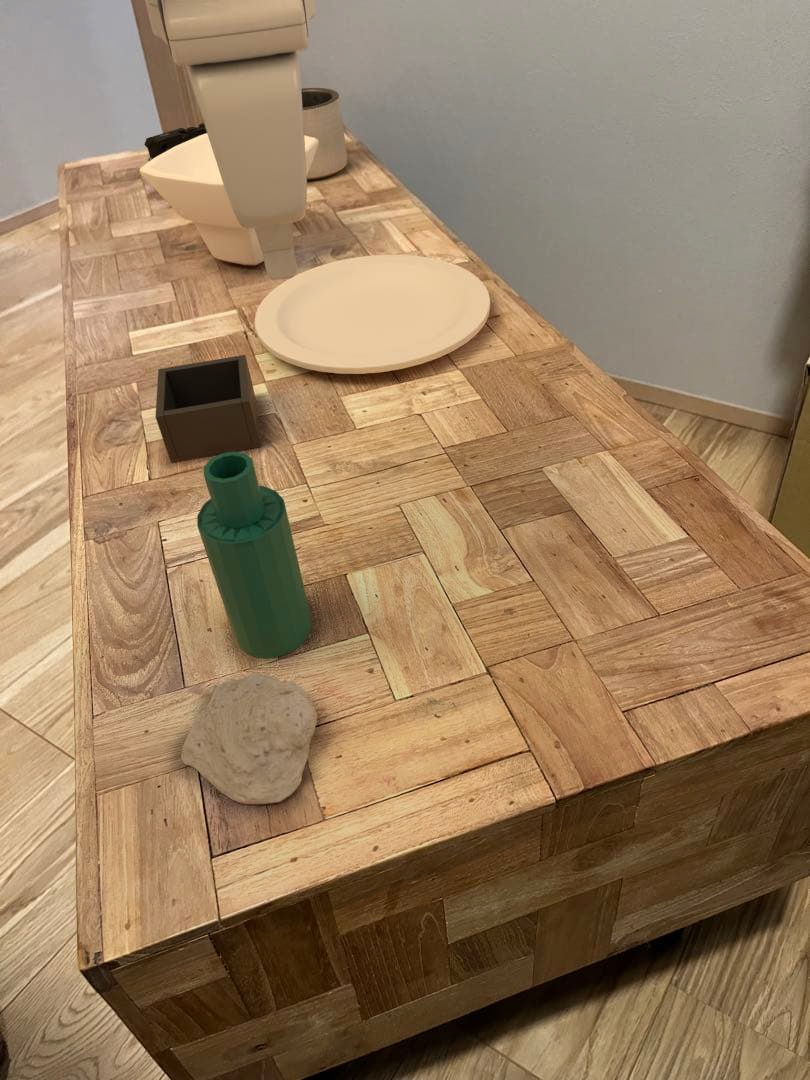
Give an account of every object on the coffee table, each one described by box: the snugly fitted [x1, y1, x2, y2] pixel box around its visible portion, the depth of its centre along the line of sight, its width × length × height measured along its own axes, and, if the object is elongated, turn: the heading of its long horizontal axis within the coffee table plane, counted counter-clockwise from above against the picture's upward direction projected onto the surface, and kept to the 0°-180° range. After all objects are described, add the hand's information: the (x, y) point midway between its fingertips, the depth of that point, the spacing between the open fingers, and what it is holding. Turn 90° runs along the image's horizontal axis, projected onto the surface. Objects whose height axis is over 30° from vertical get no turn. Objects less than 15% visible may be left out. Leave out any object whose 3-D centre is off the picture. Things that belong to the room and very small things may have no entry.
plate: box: [254, 254, 491, 375], centre depth 99 cm, size 28×28×2 cm
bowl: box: [139, 133, 319, 266], centre depth 112 cm, size 19×19×14 cm
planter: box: [301, 87, 348, 182], centre depth 137 cm, size 12×12×11 cm
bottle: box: [196, 451, 312, 659], centre depth 59 cm, size 6×6×16 cm
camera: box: [144, 122, 207, 162], centre depth 141 cm, size 14×7×8 cm, turn 130°
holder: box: [154, 354, 262, 464], centre depth 83 cm, size 9×9×6 cm
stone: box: [180, 672, 318, 805], centre depth 56 cm, size 10×5×10 cm
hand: (276, 242), depth 53 cm, fingers open, 8 cm apart
